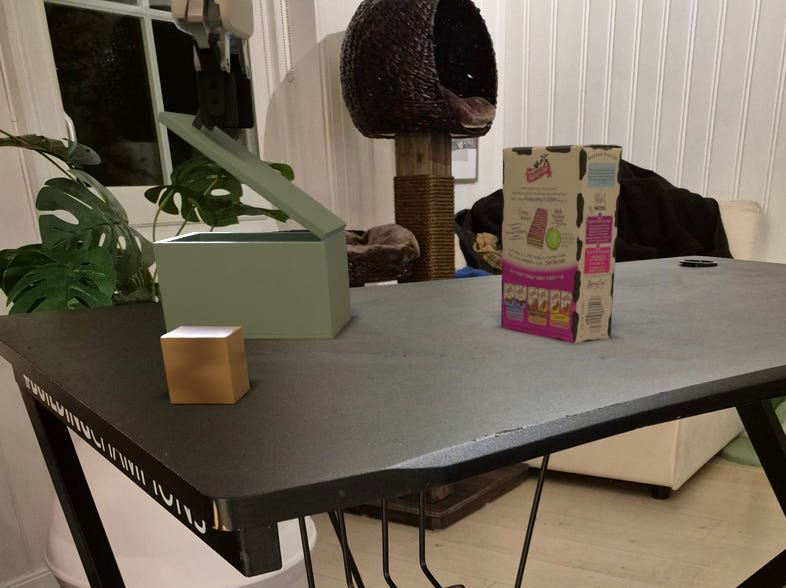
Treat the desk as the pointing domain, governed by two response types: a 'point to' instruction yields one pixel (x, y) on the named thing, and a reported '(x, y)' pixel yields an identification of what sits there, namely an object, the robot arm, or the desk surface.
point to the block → (205, 364)
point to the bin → (255, 282)
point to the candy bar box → (560, 240)
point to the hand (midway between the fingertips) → (228, 124)
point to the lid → (254, 173)
